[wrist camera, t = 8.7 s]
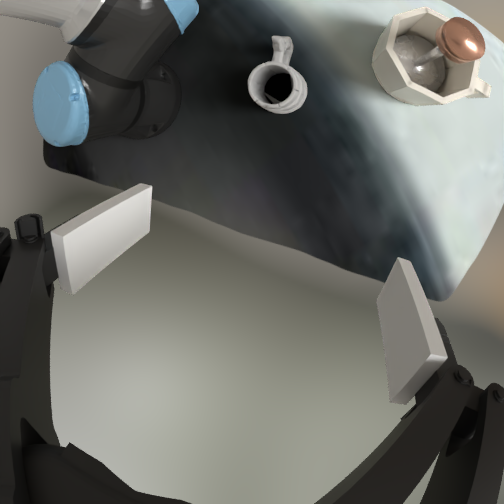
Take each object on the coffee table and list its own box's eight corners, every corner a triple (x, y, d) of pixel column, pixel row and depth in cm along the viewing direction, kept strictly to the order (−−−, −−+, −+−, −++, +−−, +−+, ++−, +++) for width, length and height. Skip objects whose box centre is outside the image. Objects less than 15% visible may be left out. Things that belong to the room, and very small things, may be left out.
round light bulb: (379, 77, 33) (413, 54, 17) (393, 26, 28) (427, -20, 13) (435, 103, 32) (496, 102, 16) (448, 53, 27) (507, 28, 12)
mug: (255, 109, 43) (232, 108, 32) (267, 42, 37) (247, 21, 27) (303, 118, 42) (295, 118, 31) (315, 49, 36) (311, 28, 26)
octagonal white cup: (363, 85, 37) (376, 74, 26) (380, 21, 31) (397, -8, 20) (451, 126, 35) (487, 133, 24) (467, 63, 29) (505, 53, 18)
